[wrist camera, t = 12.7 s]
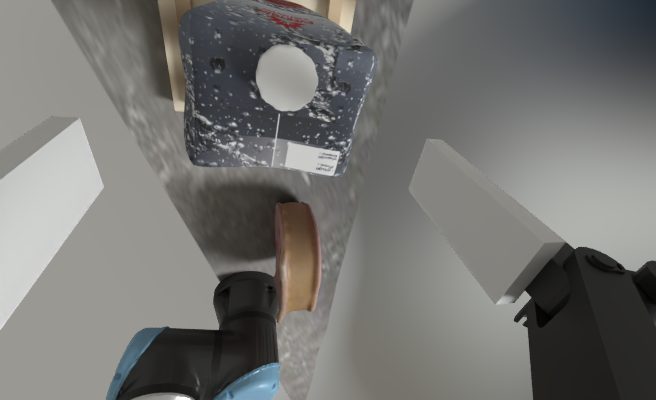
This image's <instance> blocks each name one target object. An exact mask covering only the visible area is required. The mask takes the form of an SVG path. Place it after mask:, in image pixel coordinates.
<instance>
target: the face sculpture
mask: <svg viewBox="0 0 656 400" xmlns="http://www.w3.org/2000/svg"><path fill="white" fill-rule="evenodd" d="M275 241H276V273H275V276H274V282H275V287H276V292H277V295H278V303H279V311H278V313H277V316H276V319H277V323H280V322H281V321H282V319H283V317H284V315H285V314H286V313H288V312H291V311H297V310H307V311H310V312H313V311H314V309H315V307H316V301H317V295H318V291H319V287H320V281H321V250H320V239H319V231H318V227H317V223H316V220H315V217H314V214H313V212H312V209H311V207H310V206H309V205H308V204H307V203H304V202H301V203H297V202H289V203H284V204H281V203H280V202H277V203H276V205H275Z"/></svg>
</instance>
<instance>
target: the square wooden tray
mask: <svg viewBox="0 0 656 400" xmlns="http://www.w3.org/2000/svg"><path fill="white" fill-rule="evenodd" d="M213 1H216V0H158V6H159V12H160V19H161V25H162V31H163V38H164V44H165V50H166V57H167V63H168V69H169V76H170V82H171V88H172V95H173V101H174V108H175V111H184V105H185V87H186V84H185V76H184V70H183V65H182V59H181V53H180V47H179V38H178V30H179V22H180V20H181V18H182V16H183V15H184V14H185V13H186V12H187V11H188V10H190V9H192V8H195V7H198V6H201V5H204V4H207V3H210V2H213ZM284 1H289V2H293V3H297V4H300V5H302V6H304V7H306V8H308V9H310V10H312V11H314V12H316V13H318V14H320V15H322V16H324V17H325V18H327V19H329V20H331V21H333V22H335V23H336V24H338V25H339V26H341V27H342V28H343V29H345V30H346V31H347V32H348V33H351V27H352V21H353V16H354V10H355V4H356V0H284Z"/></svg>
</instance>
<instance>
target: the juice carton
mask: <svg viewBox="0 0 656 400" xmlns="http://www.w3.org/2000/svg"><path fill="white" fill-rule="evenodd" d="M178 38H179V47H180V53H181V59H182V65H183V70H184V76H185V84H186V87H185V105H184V138H185V145H186V151H187V153H188V156H189V158H190V160H191V162H192V163H193V164H194V165H197V166H202V167H251V166H259V167H276V168H282V169H289V170H294V171H298V172H303V173H308V174H313V175H318V176H323V177H329V178H340V177H341V176H342V175H343V174H344V172H345V169H346V167H347V164H348V161H349V156H350V152H351V147H352V141H353V136H354V131H355V127H356V123H357V120H358V117H359V114H360V111H361V108H362V105H363V102H364V100H365V97H366V95H367V92H368V90H369V87H370V85H371V82H372V79H373V77H374V74H375V70H376V66H377V56H376V54H375V53H374V51H373V50H371V49H370V48H368V47H367V46H366V45H364V44H363V43H362V42H360V41H359V40H358V39H356V38H355V37H354V36H352V35H351V34H350V33H348V32H347V31H346V30H345V29H343V28H342V27H341V26H339V25H338V24H336V23H335V22H333V21H331V20H329V19H327V18H325V17H324V16H322V15H320V14H318V13H316V12H314V11H312V10H310V9H308V8H306V7H304V6H302V5H300V4H297V3H293V2H289V1H284V0H216V1H213V2H210V3H207V4H204V5H201V6H198V7H195V8H192V9H190V10H188V11H187V12H186V13H185V14H184V15H183V16H182V18H181V20H180V22H179V30H178Z"/></svg>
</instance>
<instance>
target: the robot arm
mask: <svg viewBox="0 0 656 400" xmlns="http://www.w3.org/2000/svg"><path fill="white" fill-rule="evenodd" d="M103 188H104V186H103V183H102V180H101V177H100V175H99V172H98V169H97V166H96V163H95V160H94V157H93V155H92V152H91V149H90V146H89V143H88V140H87V137H86V135H85V132H84V129H83V127H82V123H81V120H80V118H72V117H56V116H51V117H50V118H48V119H47V120H46V121H44V122H42V123H41V124H39V125H38V126H36V127H35V128H33V129H32V130H30V131H29V132H27V133H26V134H24V135H23V136H21V137H20V138H18V139H17V140H15V141H14V142H12V143H11V144H9V145H8V146H6V147H5V148H3V149H2V150H0V330H1V328H2V327H3V326H4V324H5V323H6V321H7V320H8V319H9V317H10V316H11V315H12V313H13V312H14V310H15V309H16V308H17V306H18V305H19V304H20V302H21V301H22V299H23V298H24V297H25V295H26V294H27V292H28V291H29V290H30V288H31V287H32V286H33V284H34V283H35V281H36V280H37V279H38V277H39V276H40V275H41V273H42V272H43V270H44V269H45V268H46V266H47V265H48V264H49V262H50V261H51V259H52V258H53V257H54V255H55V254H56V252H57V251H58V250H59V248H60V247H61V246H62V244H63V243H64V241H65V240H66V239H67V237H68V236H69V235H70V233H71V232H72V230H73V229H74V228H75V226H76V225H77V223H78V222H79V221H80V219H81V218H82V217H83V215H84V214H85V212H86V211H87V210H88V208H89V207H90V206H91V204H92V203H93V202H94V200H95V199H96V197H97V196H98V195H99V193H100V192H101V191H102V189H103ZM408 190H409V192H410V193H411V194H412V196H413V197H414V198H415V200H416V201H417V202H418V204H419V205H420V206H421V207H422V209H423V210H424V211H425V213H426V214H427V215H428V217H429V218H430V219H431V221H432V222H433V223H434V225H435V226H436V227H437V228H438V230H439V231H440V232H441V234H442V235H443V236H444V238H445V239H446V240H447V242H448V243H449V244H450V245H451V247H452V248H453V250H454V251H455V252H456V253H457V255H458V256H459V257H460V259H461V260H462V261H463V263H464V264H465V265H466V267H467V268H468V269H469V271H470V272H471V273H472V275H473V276H474V277H475V279H476V280H477V281H478V282H479V284H480V285H481V286H482V288H483V289H484V290H485V292H486V293H487V294H488V296H489V297H490V298H491V300H492V301H493V302H494V303H495V305H499V304H507V303H515V301H516V300H517V299H518V298H519V296H520V295H521V294H522V293H523V292H524V291H526V292H527V293H528V294H529V295H530V296H531V297H532V298H531V299H530V300H529V301H528V303H527V304H526V305H525V306H524V307H523V308H522V309H521V310H520V311H519V313H518V314H517V315H516V316H515V318H514V321H515V322H518V321H519V320H520V319H521V318H522V317H527V320H526V321H525V322H524V323H523V326H525V327H527V328H528V338H529V351H530V362H531V363H530V364H531V376H532V388H533V400H656V261H649V262H647V263H646V264H644V265H643V266H642V267H641V268H640V269H639V270H638V271H637V272H634V271H629V270H625V268H624V267H623V266H622V265H621V264H619V263H618V262H617V261H615V260H614V259H612V258H611V257H609V256H607V255H606V254H603V253H601V252H599V251H597V250H594V249H590V248H587V247H578V248H576V249H574V248H572V247H571V246H570V245H569V244H568V243H566V241H565V240H563V239H562V238H561V237H560V236H558V235H557V234H556V233H555V232H553V231H552V230H551V229H550V228H549V227H547V226H546V225H545V224H544V223H542V222H541V221H540V220H539V219H538V218H537V217H535V216H534V215H533V214H532V213H530V212H529V211H528V210H527V209H526V208H524V207H523V206H522V205H521V204H519V203H518V202H517V201H516V200H515V199H513V198H512V197H511V196H510V195H508V194H507V193H506V192H505V191H504V190H502V189H501V188H500V187H499V186H498V185H496V184H495V183H494V182H493V181H491V180H490V179H489V178H488V177H487V176H485V175H484V174H483V173H482V172H480V171H479V170H478V169H477V168H476V167H474V166H473V165H472V164H471V163H470V162H468V161H467V160H466V159H465V158H463V157H462V156H461V155H460V154H458V153H457V152H456V151H455V150H454V149H452V148H451V147H450V146H449V145H448V144H446V143H445V142H444V141H443V140H438V139H427V140H426V143H425V145H424V148H423V151H422V154H421V156H420V159H419V162H418V164H417V167H416V170H415V172H414V175H413V178H412V181H411V183H410V186H409V189H408ZM213 302H214V308H215V311H216V315H217V319H218V323H219V330H203V329H176V328H169V327H163V328H145V329H142V330H141V331H139V332H138V333H137V334H136V335H135V336H134V337H133V338H132V340H131V341H130V343H129V345H128V346H127V348H126V350H125V352H124V354H123V356H122V358H121V360H120V362H119V364H118V367H117V369H116V373H115V376H114V378H113V380H112V382H111V384H110V387H109V390H108V393H107V397H106V400H271V399H272V398H273V397H274V396H275V394H276V392H277V391H278V388H279V368H280V365H279V359H278V346H277V333H276V316H277V313H278V309H279V303H278V295H277V292H276V287H275V282H274V278H273V277H272V276H270V275H267V274H264V273H260V272H243V273H238V274H235V275H232V276H230V277H228V278H226V279H224V280H223V281H221V282H220V283H219V284H218V286H217V287H216V289H215V292H214V301H213Z"/></svg>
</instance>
